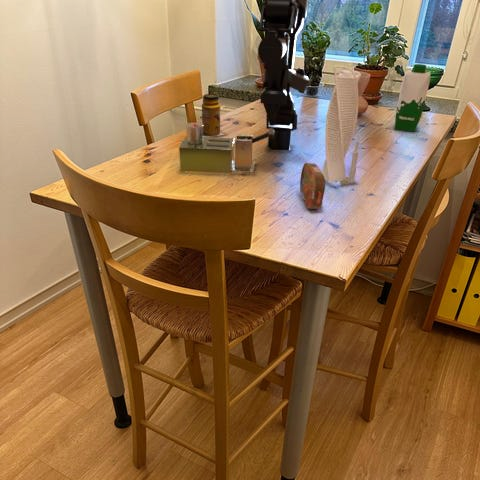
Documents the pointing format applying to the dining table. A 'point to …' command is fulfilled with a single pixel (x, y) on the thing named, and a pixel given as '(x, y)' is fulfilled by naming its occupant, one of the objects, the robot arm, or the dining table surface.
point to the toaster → (207, 156)
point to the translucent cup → (194, 133)
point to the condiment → (211, 115)
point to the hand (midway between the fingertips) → (272, 125)
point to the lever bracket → (243, 155)
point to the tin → (312, 185)
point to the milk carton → (412, 98)
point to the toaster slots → (218, 145)
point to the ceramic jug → (361, 87)
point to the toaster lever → (263, 136)
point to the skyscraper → (341, 127)
